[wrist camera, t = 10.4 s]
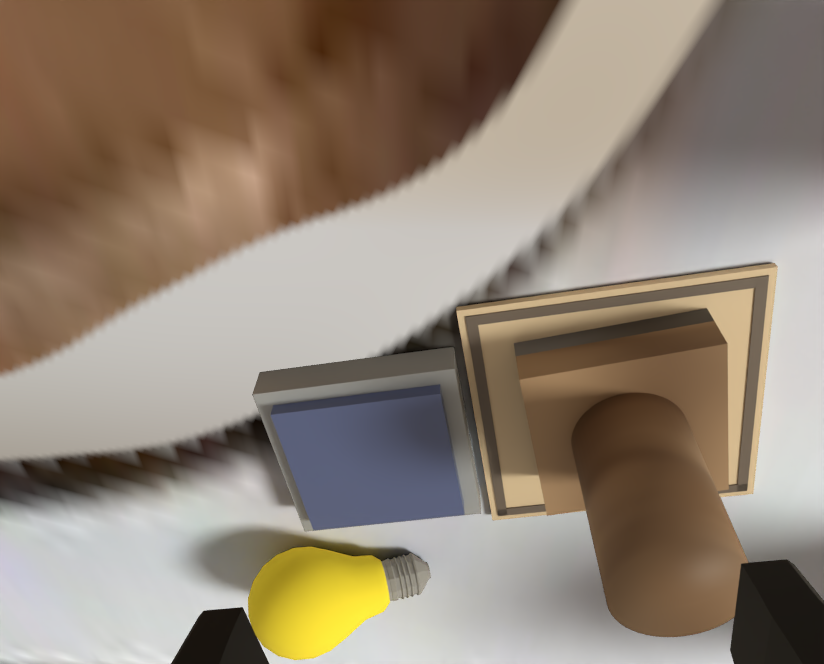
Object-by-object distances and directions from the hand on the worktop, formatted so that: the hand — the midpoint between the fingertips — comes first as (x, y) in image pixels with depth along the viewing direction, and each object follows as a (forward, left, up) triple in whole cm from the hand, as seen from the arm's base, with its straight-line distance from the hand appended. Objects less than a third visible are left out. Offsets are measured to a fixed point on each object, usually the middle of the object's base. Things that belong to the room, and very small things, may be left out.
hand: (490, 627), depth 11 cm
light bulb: (-6, -10, -10) cm, 15 cm away
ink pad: (-3, -4, -10) cm, 11 cm away
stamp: (+4, -4, -10) cm, 11 cm away
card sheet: (+4, -4, -10) cm, 11 cm away
